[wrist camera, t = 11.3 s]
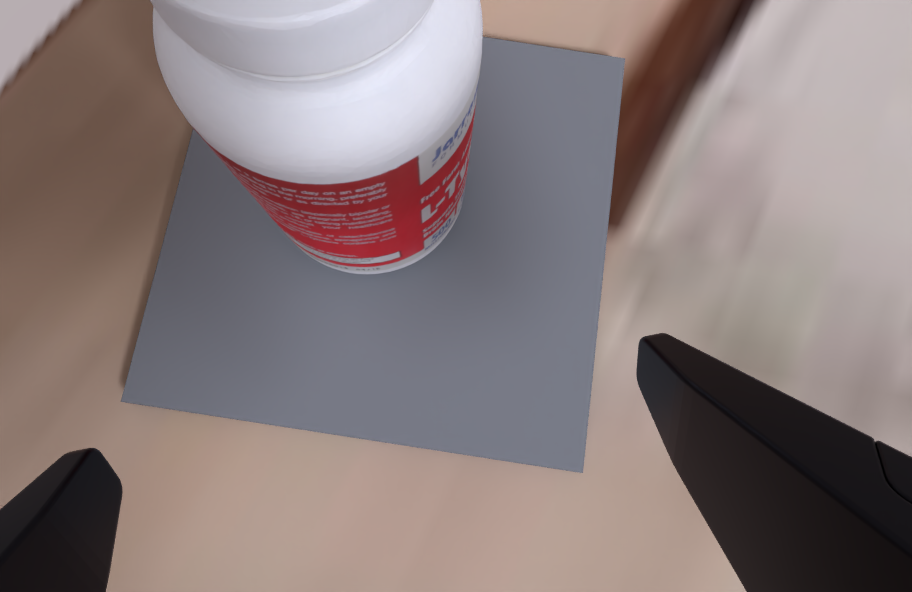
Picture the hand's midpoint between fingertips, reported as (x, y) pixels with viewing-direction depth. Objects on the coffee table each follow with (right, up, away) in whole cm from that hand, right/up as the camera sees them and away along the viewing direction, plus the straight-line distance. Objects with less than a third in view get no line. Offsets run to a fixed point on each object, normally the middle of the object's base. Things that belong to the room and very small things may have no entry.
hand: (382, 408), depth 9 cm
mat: (-1, +4, +9) cm, 10 cm away
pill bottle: (-2, +5, +9) cm, 11 cm away
